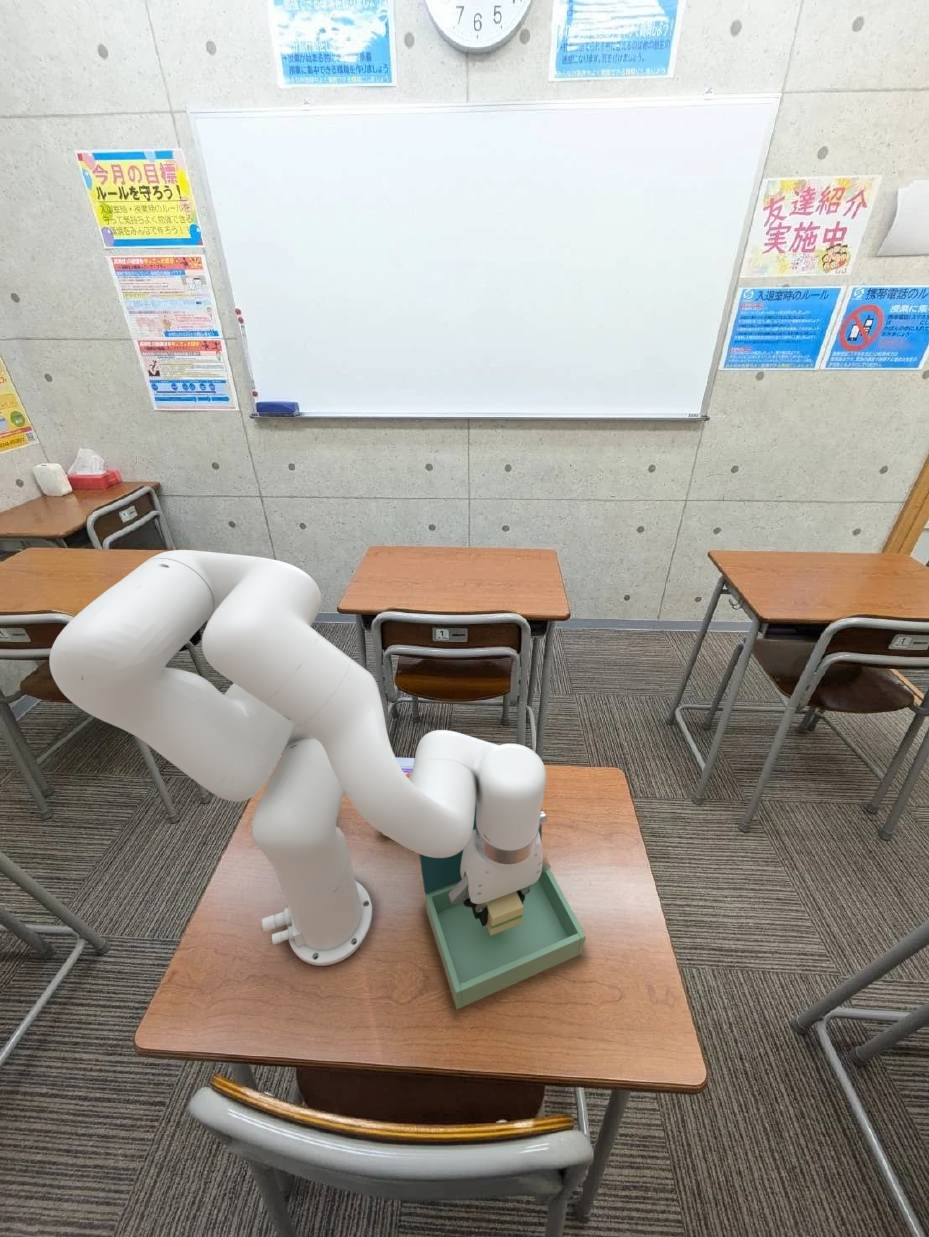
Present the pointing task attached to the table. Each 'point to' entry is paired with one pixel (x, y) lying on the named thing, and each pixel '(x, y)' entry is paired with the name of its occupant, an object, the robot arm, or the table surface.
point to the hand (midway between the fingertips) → (497, 908)
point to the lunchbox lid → (444, 868)
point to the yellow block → (504, 913)
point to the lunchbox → (502, 941)
